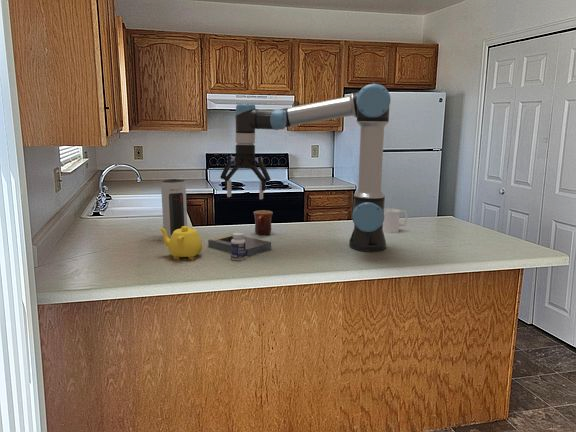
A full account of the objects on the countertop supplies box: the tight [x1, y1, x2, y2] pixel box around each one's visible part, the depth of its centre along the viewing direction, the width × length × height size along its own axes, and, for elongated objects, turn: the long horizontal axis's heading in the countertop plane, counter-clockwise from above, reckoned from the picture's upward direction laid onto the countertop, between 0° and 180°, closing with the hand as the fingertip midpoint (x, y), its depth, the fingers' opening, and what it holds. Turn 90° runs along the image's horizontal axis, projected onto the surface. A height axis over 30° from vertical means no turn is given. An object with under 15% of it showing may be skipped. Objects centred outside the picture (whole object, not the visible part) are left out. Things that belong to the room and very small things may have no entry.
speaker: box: [160, 178, 188, 239], centre depth 210 cm, size 11×10×26 cm
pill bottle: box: [230, 232, 246, 261], centre depth 183 cm, size 5×5×10 cm
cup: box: [383, 208, 408, 234], centre depth 230 cm, size 8×12×10 cm
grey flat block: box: [207, 233, 272, 258], centre depth 198 cm, size 22×14×3 cm, turn 51°
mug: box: [253, 209, 274, 236], centre depth 220 cm, size 12×9×10 cm
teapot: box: [158, 225, 203, 261], centre depth 185 cm, size 14×14×12 cm
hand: (245, 197), depth 194 cm, fingers open, 13 cm apart
